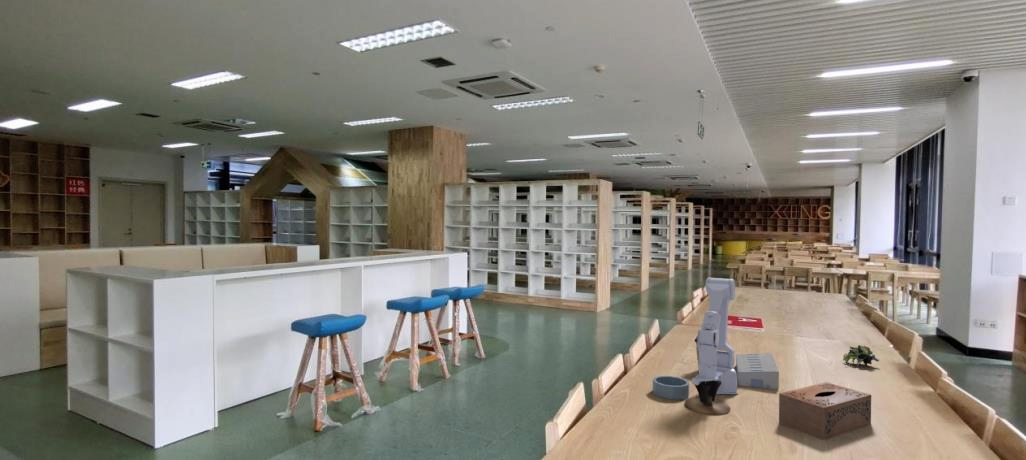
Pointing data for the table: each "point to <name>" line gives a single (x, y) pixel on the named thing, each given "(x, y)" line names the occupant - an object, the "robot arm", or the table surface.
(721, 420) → the table surface
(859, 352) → the green leafy clump
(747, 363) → the warehouse
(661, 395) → the bowl
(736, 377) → the robot arm
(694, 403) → the lid
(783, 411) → the tissue box cover
